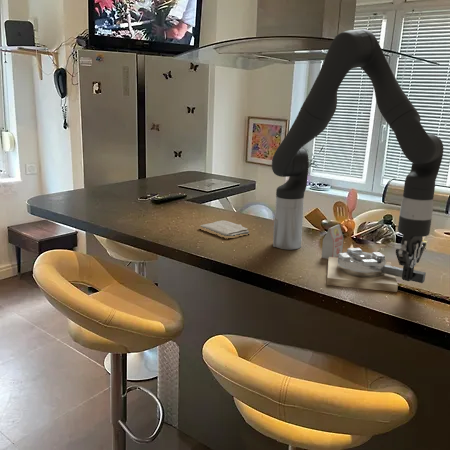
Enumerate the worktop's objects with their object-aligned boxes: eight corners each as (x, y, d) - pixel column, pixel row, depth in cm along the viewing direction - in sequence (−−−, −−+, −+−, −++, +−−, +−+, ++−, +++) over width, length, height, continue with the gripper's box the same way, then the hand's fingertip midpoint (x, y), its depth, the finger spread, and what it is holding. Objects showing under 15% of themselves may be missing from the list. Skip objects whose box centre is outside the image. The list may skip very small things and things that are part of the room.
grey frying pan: (329, 269, 128) (330, 255, 127) (348, 258, 138) (349, 244, 137) (416, 290, 115) (418, 275, 113) (429, 276, 125) (431, 261, 123)
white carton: (321, 257, 146) (323, 227, 143) (331, 252, 151) (333, 223, 148) (332, 260, 143) (334, 229, 141) (342, 255, 148) (344, 225, 146)
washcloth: (227, 241, 162) (227, 233, 162) (197, 230, 176) (197, 223, 175) (252, 235, 170) (252, 227, 169) (221, 225, 183) (221, 218, 182)
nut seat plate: (326, 284, 124) (327, 276, 123) (328, 263, 141) (328, 255, 140) (396, 291, 120) (397, 283, 119) (389, 268, 137) (390, 261, 136)
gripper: (418, 222, 108) (409, 290, 112) (441, 214, 117) (431, 277, 121) (388, 216, 113) (381, 282, 117) (412, 209, 122) (404, 270, 126)
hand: (407, 279), depth 119 cm, fingers closed
